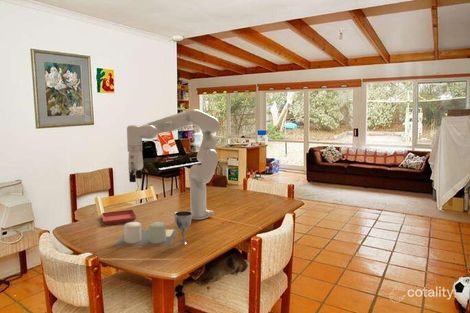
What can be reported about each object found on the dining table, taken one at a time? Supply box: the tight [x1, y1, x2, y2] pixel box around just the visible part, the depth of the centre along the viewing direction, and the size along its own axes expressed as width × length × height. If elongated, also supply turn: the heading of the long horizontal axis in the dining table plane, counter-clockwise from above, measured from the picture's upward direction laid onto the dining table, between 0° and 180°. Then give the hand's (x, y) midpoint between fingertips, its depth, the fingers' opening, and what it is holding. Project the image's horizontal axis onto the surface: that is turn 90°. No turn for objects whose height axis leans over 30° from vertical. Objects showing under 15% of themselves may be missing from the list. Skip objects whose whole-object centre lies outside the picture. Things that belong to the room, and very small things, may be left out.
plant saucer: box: [101, 209, 137, 225], centre depth 193 cm, size 18×18×3 cm
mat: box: [114, 228, 178, 246], centre depth 164 cm, size 26×21×1 cm
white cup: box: [123, 221, 142, 243], centre depth 159 cm, size 8×8×8 cm
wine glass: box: [174, 210, 193, 245], centre depth 156 cm, size 8×8×15 cm
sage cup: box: [148, 221, 167, 243], centre depth 159 cm, size 8×8×8 cm
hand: (135, 180), depth 178 cm, fingers open, 9 cm apart
